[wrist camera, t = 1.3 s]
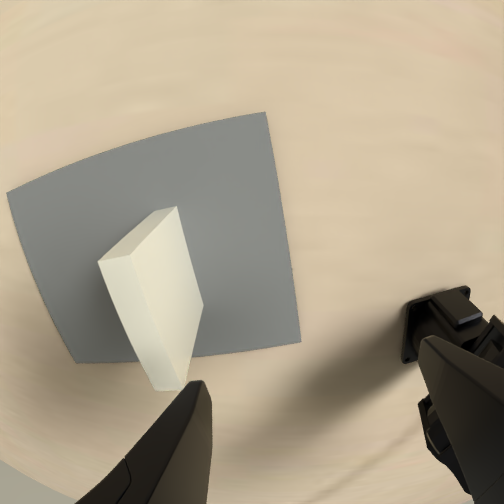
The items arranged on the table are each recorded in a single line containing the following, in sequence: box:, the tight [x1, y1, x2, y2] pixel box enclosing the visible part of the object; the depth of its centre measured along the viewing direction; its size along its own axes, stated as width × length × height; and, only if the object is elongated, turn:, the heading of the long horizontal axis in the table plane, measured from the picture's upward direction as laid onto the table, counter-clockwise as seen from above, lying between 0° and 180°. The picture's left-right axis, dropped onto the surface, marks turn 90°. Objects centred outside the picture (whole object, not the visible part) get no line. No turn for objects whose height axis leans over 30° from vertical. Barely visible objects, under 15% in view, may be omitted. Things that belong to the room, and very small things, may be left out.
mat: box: [6, 112, 301, 363], centre depth 20 cm, size 16×20×1 cm
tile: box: [97, 206, 204, 391], centre depth 16 cm, size 7×2×8 cm, turn 10°
